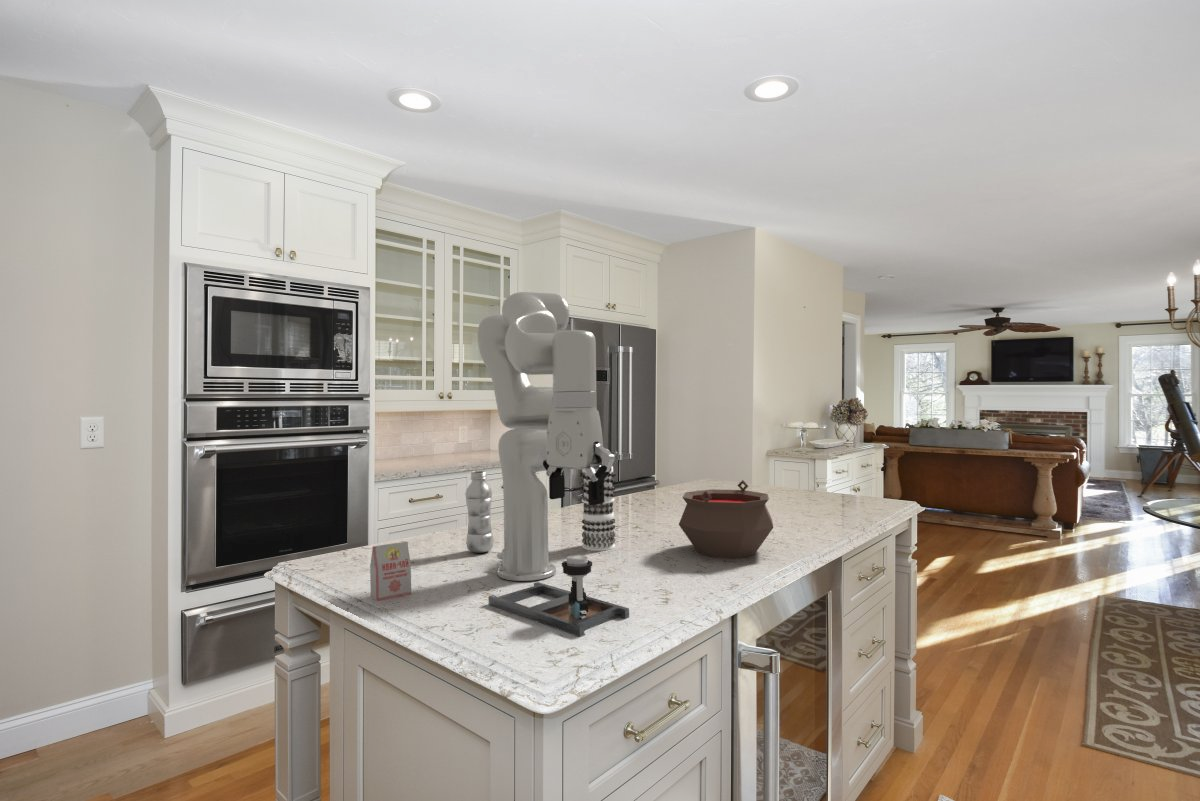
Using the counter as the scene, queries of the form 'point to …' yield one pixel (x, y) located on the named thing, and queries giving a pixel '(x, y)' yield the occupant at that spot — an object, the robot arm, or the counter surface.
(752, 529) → the brown cauldron
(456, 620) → the counter surface
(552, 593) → the rail
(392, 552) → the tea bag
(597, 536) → the decorative candle
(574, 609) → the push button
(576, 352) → the robot arm
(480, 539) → the plastic bottle
